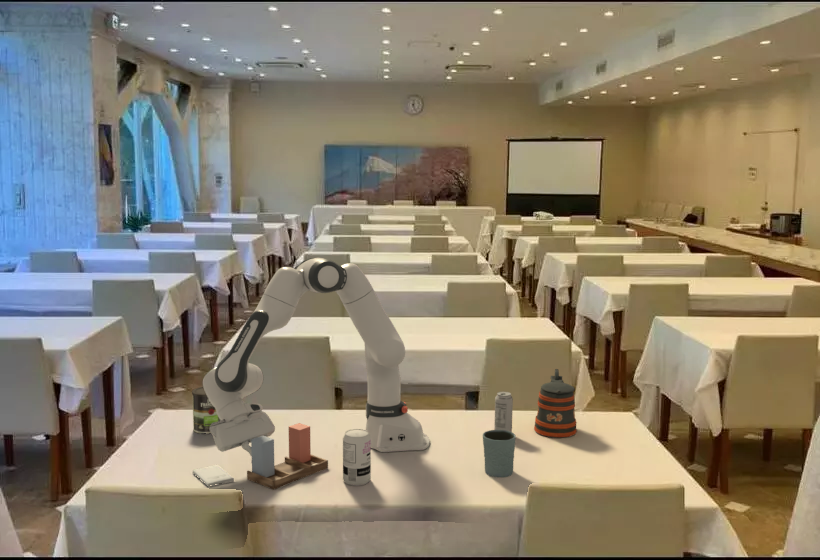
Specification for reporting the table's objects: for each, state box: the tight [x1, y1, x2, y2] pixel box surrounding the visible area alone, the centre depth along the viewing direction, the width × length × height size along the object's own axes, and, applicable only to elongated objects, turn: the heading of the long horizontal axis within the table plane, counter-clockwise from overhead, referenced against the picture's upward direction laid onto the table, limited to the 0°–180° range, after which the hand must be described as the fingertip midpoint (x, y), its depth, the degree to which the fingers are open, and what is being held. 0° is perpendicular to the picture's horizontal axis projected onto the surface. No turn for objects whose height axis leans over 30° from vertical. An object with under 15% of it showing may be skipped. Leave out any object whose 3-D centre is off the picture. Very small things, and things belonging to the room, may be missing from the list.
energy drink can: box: [493, 391, 514, 433], centre depth 292 cm, size 6×6×15 cm
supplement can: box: [342, 428, 372, 487], centre depth 252 cm, size 8×8×15 cm
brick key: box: [288, 422, 312, 463], centre depth 265 cm, size 5×4×11 cm
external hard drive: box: [192, 464, 235, 487], centre depth 255 cm, size 2×8×12 cm
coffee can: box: [191, 386, 220, 435], centre depth 296 cm, size 10×10×14 cm
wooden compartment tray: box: [246, 454, 329, 490], centre depth 258 cm, size 12×22×2 cm, turn 140°
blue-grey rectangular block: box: [250, 436, 275, 477], centre depth 253 cm, size 5×4×11 cm
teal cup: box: [482, 429, 517, 478], centre depth 260 cm, size 10×10×12 cm
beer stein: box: [533, 368, 578, 439], centre depth 299 cm, size 19×15×20 cm
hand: (256, 454), depth 255 cm, fingers closed, pressing on blue-grey rectangular block
